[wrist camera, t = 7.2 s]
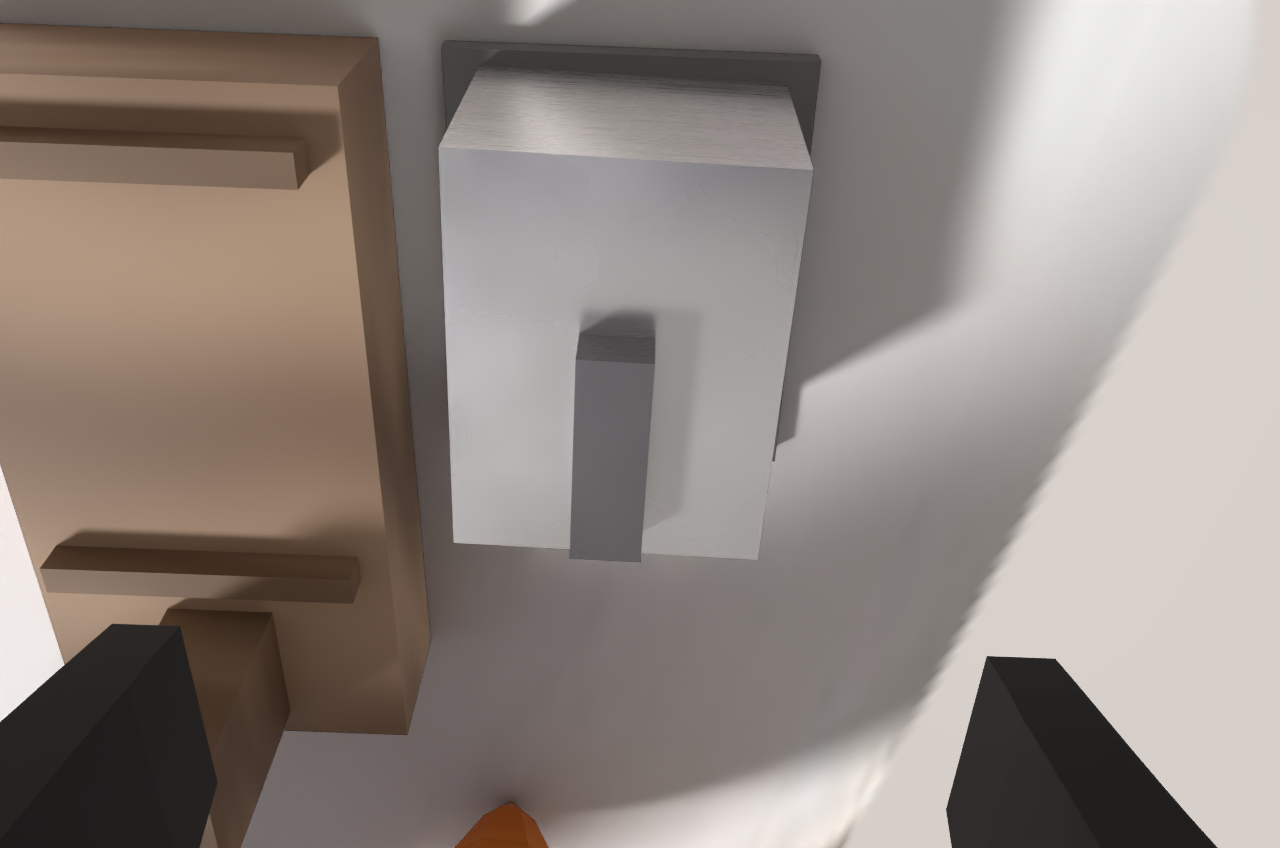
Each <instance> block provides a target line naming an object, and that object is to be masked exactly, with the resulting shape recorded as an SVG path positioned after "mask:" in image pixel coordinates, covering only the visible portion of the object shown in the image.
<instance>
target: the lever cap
mask: <svg viewBox="0 0 1280 848" xmlns="http://www.w3.org/2000/svg"><path fill="white" fill-rule="evenodd" d="M438 151H439V177H440V203H441V229H442V255H443V281H444V308H445V334H446V360H447V386H448V412H449V438H450V464H451V490H452V516H453V542H454V543H465V544H483V545H501V546H518V547H536V548H554V549H570V558H571V559H589V560H607V561H625V562H641V553H643V554H661V555H679V556H697V557H715V558H733V559H750V560H758V556H759V549H760V542H761V535H762V528H763V521H764V514H765V507H766V500H767V493H768V486H769V479H770V472H771V465H772V458H773V451H774V444H775V437H776V430H777V423H778V416H779V409H780V402H781V395H782V388H783V381H784V374H785V367H786V360H787V353H788V346H789V339H790V332H791V325H792V318H793V311H794V304H795V297H796V290H797V284H798V277H799V270H800V263H801V256H802V249H803V242H804V235H805V228H806V221H807V214H808V207H809V200H810V193H811V186H812V179H813V172H814V169H813V166H812V163H811V160H810V156H809V153H808V150H807V147H806V144H805V141H804V137H803V134H802V131H801V128H800V125H799V122H798V118H797V115H796V112H795V109H794V106H793V103H792V100H791V96H790V93H789V90H788V87H787V85H786V84H770V83H754V82H737V81H721V80H705V79H689V78H673V77H657V76H641V75H625V74H609V73H593V72H577V71H561V70H545V69H529V68H513V67H497V66H481V65H479V67H478V69H477V71H476V73H475V75H474V77H473V79H472V81H471V83H470V85H469V87H468V89H467V91H466V93H465V95H464V97H463V99H462V101H461V103H460V105H459V107H458V109H457V111H456V113H455V115H454V117H453V119H452V121H451V123H450V125H449V127H448V129H447V131H446V133H445V135H444V137H443V139H442V141H441V143H440V145H439V147H438Z"/></svg>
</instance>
